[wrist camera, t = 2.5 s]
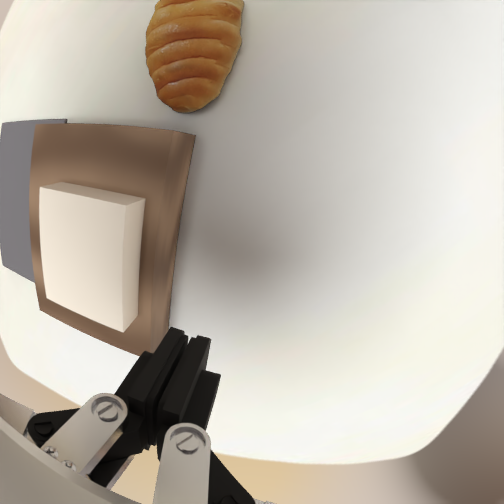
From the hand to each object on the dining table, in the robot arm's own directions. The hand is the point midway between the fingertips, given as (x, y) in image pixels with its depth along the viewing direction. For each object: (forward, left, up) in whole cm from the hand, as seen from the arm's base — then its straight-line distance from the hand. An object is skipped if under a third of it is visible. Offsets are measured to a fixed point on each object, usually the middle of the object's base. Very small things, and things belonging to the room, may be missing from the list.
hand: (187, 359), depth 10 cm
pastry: (-15, -6, -10) cm, 19 cm away
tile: (-1, -9, -6) cm, 11 cm away
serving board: (-1, -10, -10) cm, 14 cm away
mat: (-1, -22, -10) cm, 24 cm away
